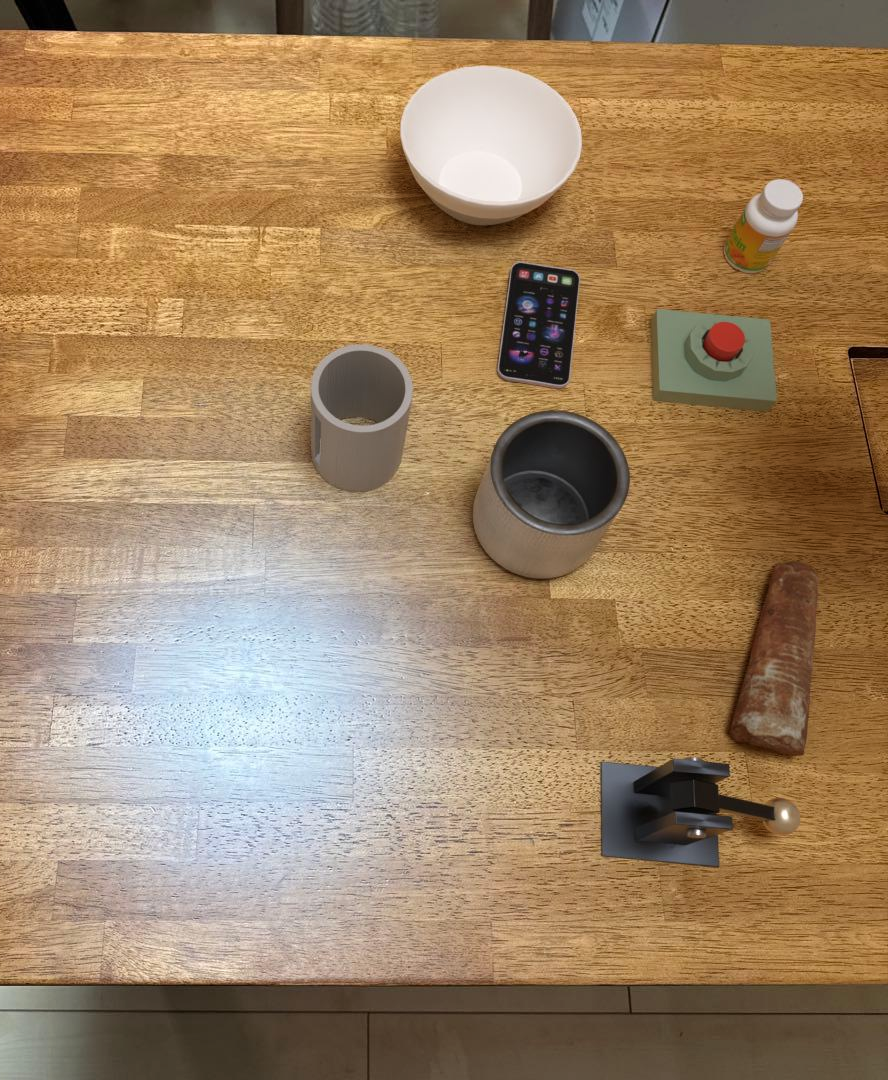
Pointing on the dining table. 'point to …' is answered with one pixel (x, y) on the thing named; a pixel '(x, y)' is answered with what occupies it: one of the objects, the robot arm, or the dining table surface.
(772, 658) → the brown cured sausage
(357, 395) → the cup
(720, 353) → the button
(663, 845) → the lever base
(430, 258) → the dining table surface
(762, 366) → the button box
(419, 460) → the dining table surface
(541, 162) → the bowl
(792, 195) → the supplement bottle
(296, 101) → the dining table surface
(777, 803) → the lever
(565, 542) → the planter
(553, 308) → the smartphone
